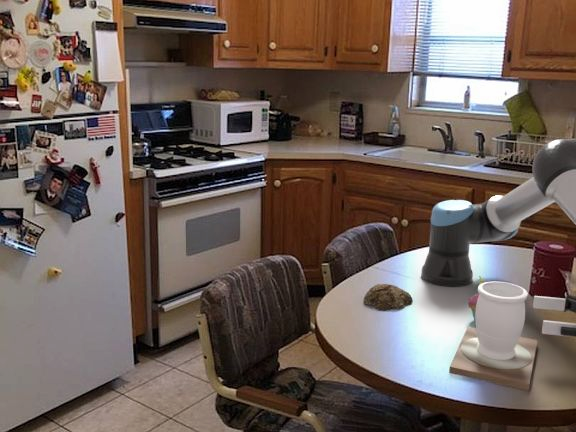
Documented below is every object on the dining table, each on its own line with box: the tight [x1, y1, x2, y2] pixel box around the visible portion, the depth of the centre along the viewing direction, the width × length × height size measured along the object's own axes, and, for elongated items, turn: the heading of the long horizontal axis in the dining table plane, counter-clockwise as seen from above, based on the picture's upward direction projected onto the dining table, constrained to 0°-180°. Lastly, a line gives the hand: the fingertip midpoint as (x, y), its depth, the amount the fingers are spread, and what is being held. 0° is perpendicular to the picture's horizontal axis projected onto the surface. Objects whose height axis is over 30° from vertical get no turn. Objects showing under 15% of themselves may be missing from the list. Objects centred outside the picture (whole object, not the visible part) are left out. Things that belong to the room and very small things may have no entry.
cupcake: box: [467, 276, 483, 323], centre depth 157 cm, size 9×8×12 cm
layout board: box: [448, 326, 538, 391], centre depth 138 cm, size 22×16×2 cm
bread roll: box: [363, 283, 413, 312], centre depth 169 cm, size 13×12×5 cm
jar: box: [474, 280, 529, 360], centre depth 136 cm, size 11×10×15 cm
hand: (537, 313), depth 133 cm, fingers open, 13 cm apart
